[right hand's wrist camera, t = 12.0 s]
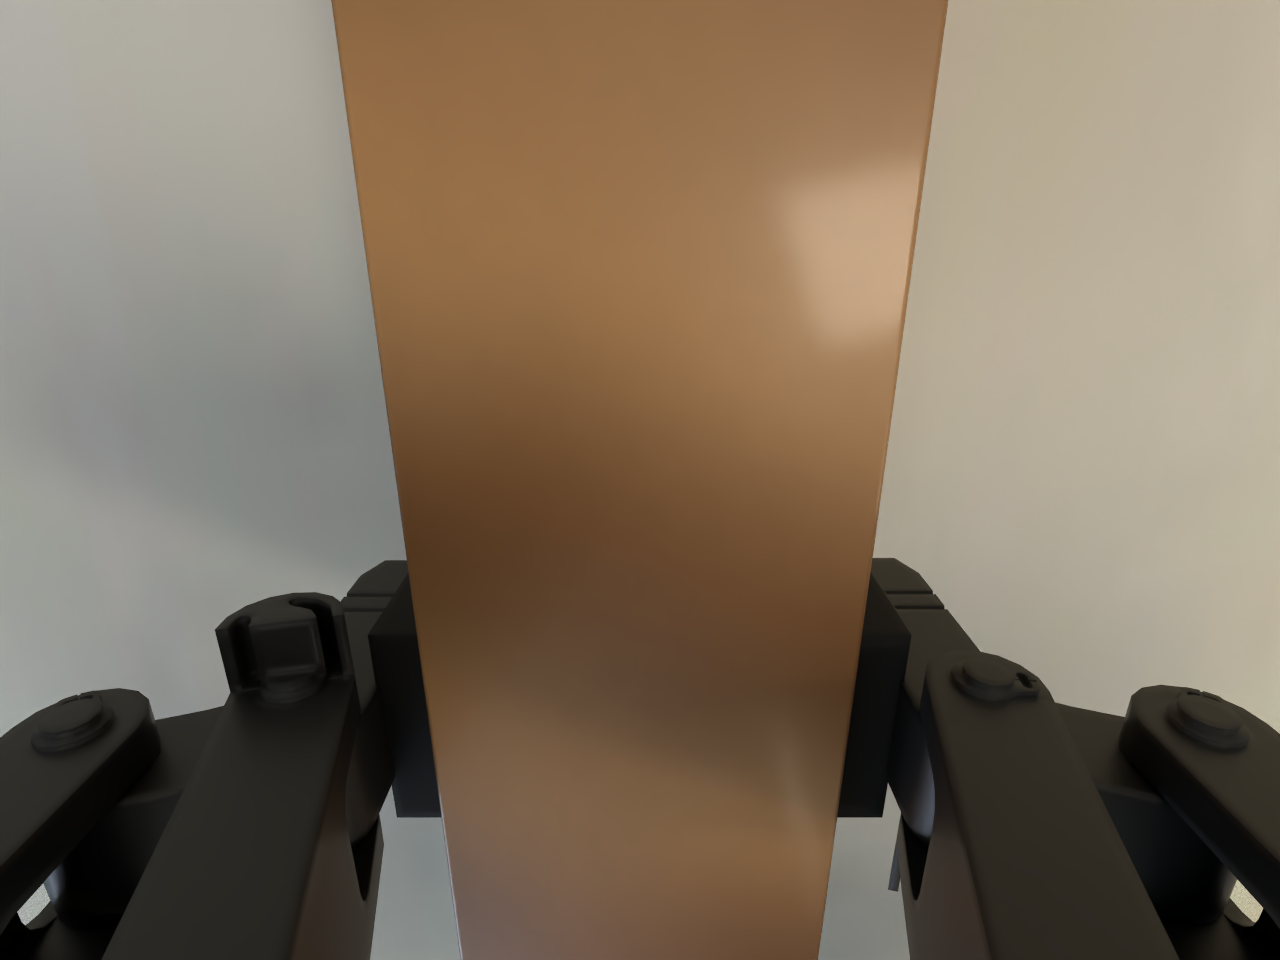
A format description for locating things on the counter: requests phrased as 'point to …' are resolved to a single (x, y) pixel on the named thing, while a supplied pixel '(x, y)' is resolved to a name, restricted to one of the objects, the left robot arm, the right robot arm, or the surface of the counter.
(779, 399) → the beam
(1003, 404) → the counter surface
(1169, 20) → the counter surface
